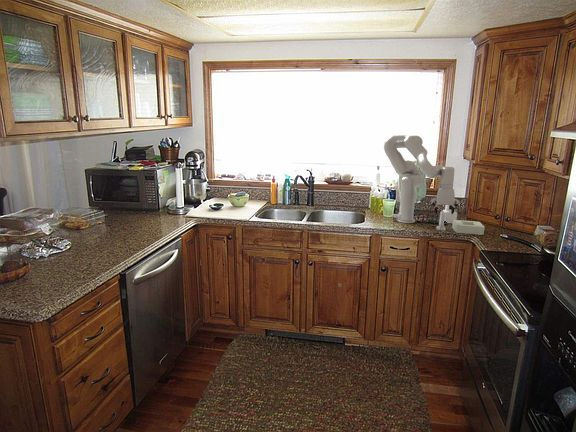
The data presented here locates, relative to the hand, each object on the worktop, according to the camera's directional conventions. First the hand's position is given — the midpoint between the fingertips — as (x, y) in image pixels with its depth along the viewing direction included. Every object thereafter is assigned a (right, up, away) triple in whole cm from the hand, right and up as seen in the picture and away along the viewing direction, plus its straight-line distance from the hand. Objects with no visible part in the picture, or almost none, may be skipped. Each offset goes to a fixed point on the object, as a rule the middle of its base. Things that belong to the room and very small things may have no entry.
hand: (444, 213), depth 253 cm
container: (+11, -6, +21) cm, 24 cm away
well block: (+15, -11, 0) cm, 19 cm away
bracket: (-1, -10, +3) cm, 11 cm away
